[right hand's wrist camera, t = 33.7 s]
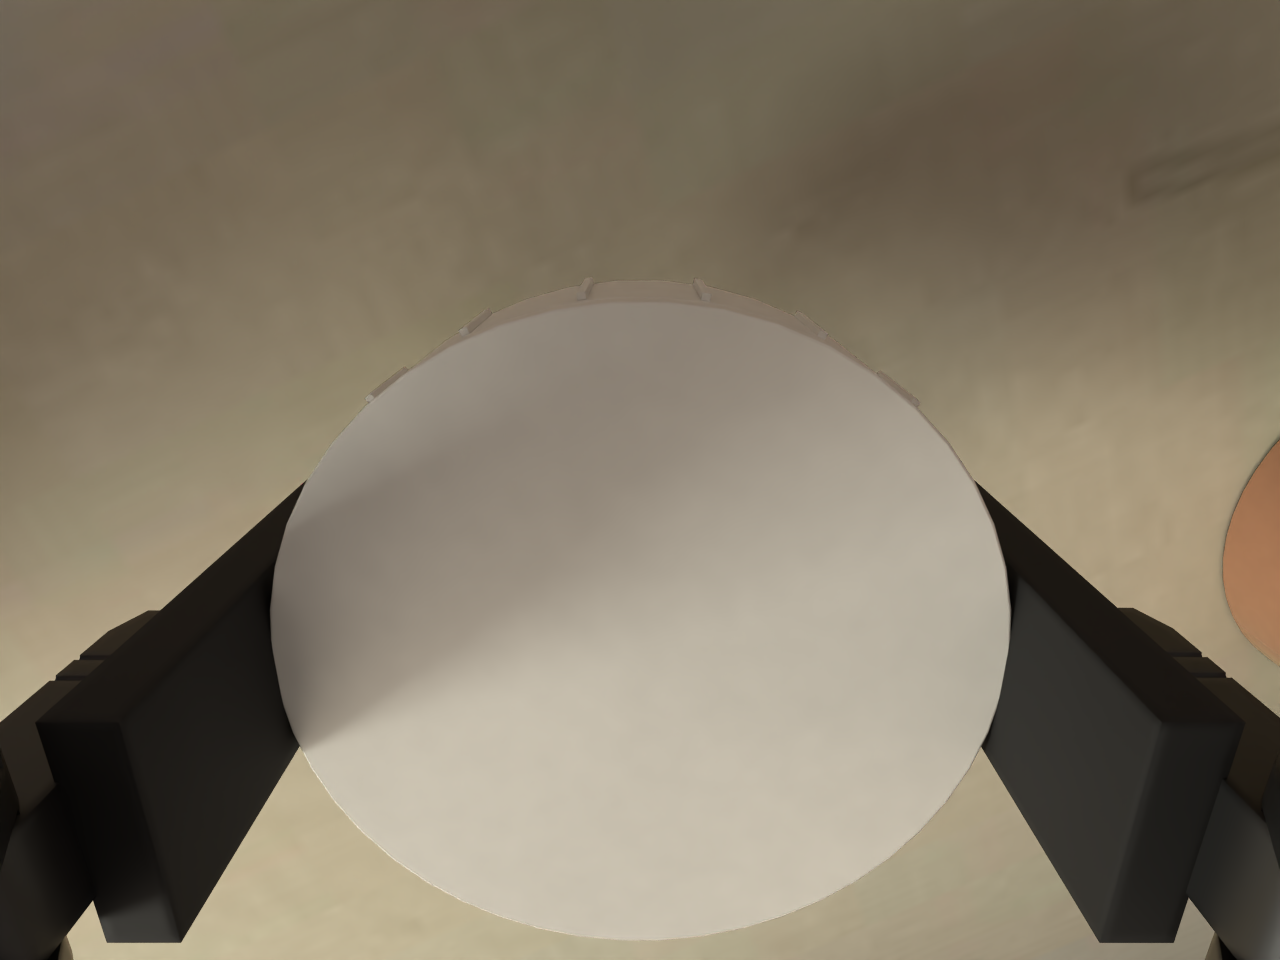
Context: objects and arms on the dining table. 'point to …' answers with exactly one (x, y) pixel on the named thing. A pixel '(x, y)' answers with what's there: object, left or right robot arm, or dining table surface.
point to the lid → (640, 614)
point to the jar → (1256, 558)
